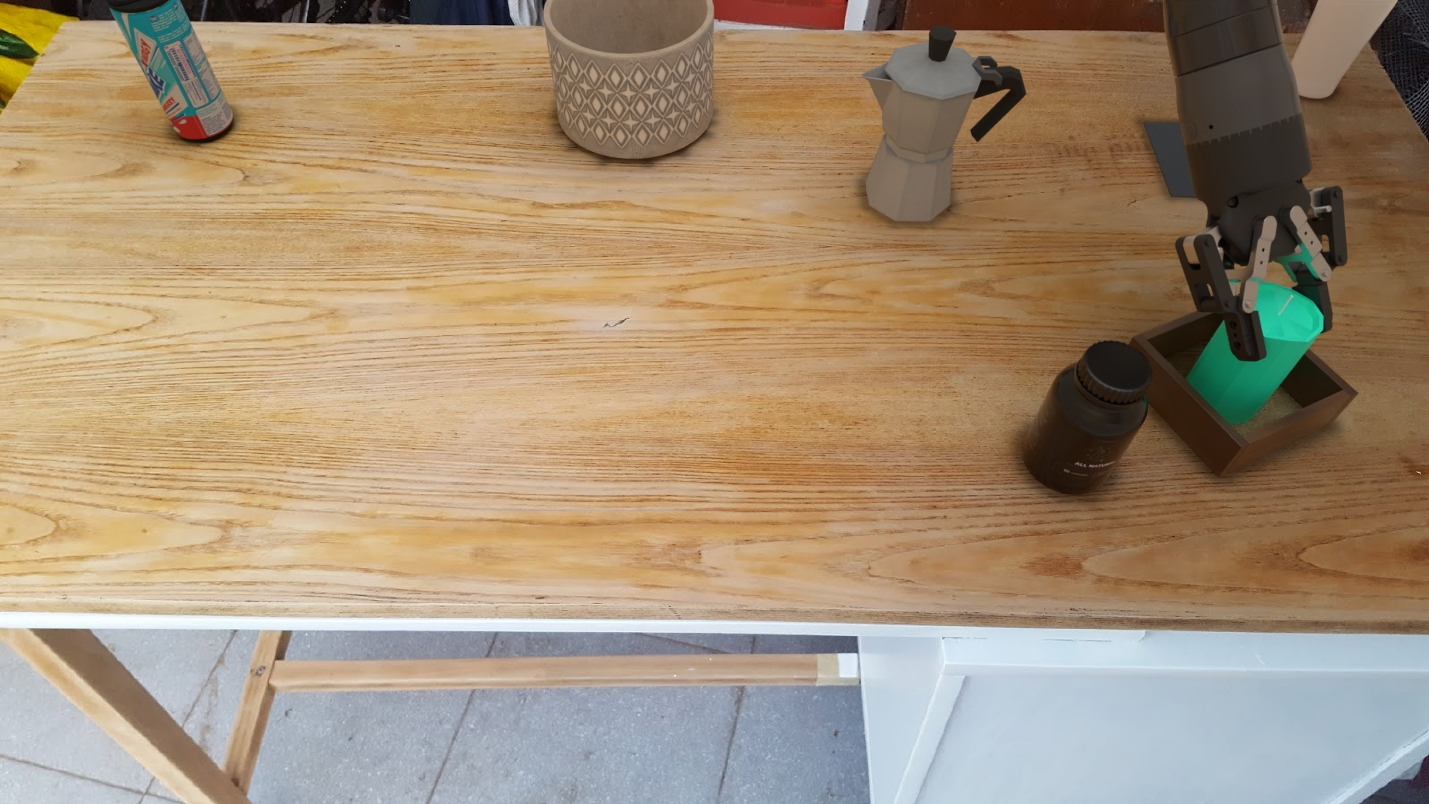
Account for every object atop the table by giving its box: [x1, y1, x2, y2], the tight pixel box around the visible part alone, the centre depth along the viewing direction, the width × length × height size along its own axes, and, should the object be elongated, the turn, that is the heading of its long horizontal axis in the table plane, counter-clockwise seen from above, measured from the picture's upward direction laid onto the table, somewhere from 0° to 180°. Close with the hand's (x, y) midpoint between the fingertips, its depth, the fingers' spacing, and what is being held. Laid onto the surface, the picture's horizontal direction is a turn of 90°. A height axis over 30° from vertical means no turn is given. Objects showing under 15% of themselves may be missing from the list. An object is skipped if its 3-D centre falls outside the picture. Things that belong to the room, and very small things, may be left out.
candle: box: [1185, 281, 1324, 425], centre depth 74 cm, size 6×6×12 cm
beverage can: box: [105, 0, 234, 143], centre depth 94 cm, size 6×6×15 cm
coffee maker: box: [860, 24, 1027, 222], centre depth 87 cm, size 15×9×18 cm, turn 91°
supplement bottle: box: [1021, 339, 1153, 496], centre depth 70 cm, size 7×7×12 cm
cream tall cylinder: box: [1290, 0, 1399, 100], centre depth 100 cm, size 7×7×15 cm
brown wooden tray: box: [1128, 293, 1359, 478], centre depth 77 cm, size 12×12×5 cm
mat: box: [1143, 121, 1197, 199], centre depth 97 cm, size 12×12×1 cm
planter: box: [542, 0, 715, 160], centre depth 96 cm, size 16×16×13 cm
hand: (1284, 344), depth 71 cm, fingers closed on candle, 6 cm apart
